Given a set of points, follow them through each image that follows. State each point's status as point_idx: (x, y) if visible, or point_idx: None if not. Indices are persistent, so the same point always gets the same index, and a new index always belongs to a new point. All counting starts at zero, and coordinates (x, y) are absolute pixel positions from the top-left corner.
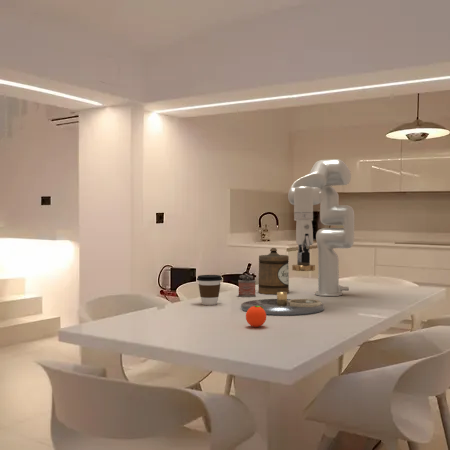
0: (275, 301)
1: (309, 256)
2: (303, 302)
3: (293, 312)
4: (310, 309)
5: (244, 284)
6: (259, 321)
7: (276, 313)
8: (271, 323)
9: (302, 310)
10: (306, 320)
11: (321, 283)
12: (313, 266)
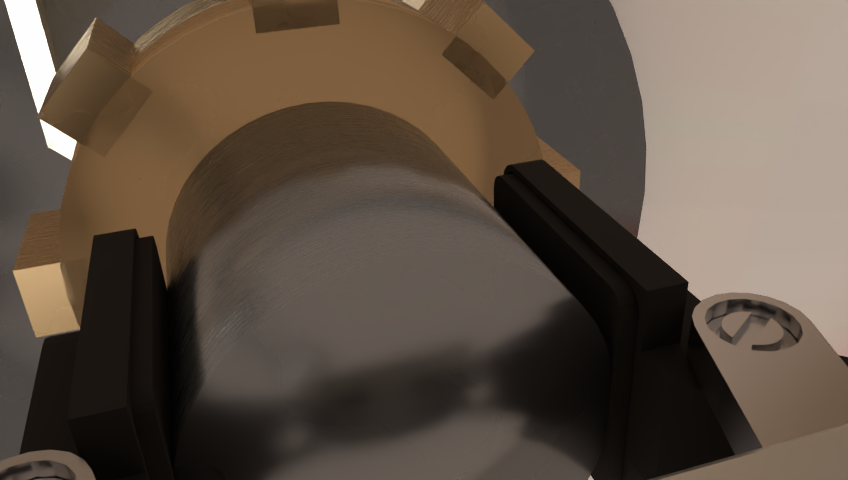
0: (29, 329)
1: (619, 225)
2: (78, 17)
3: (641, 172)
4: (578, 11)
5: None
6: None
7: None
8: (829, 303)
9: (612, 95)
10: (820, 82)
11: None
12: (509, 28)
